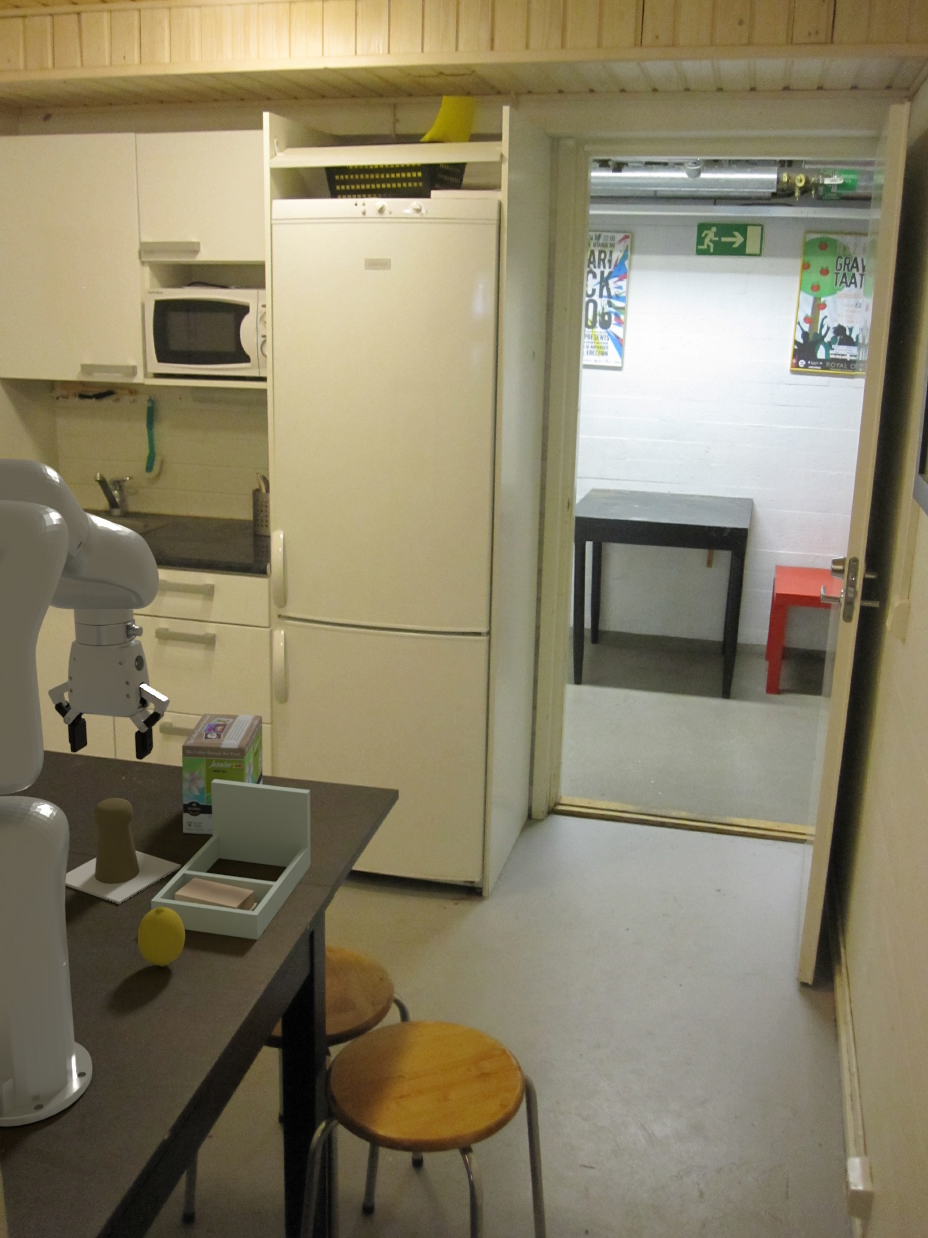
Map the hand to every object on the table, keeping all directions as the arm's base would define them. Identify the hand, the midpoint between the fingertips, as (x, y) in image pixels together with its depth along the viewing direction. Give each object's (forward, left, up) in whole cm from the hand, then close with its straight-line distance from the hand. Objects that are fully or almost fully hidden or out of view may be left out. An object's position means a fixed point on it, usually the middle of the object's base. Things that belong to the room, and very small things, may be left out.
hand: (111, 752), depth 147 cm
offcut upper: (-2, -19, -17) cm, 25 cm away
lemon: (-14, -21, -19) cm, 31 cm away
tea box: (+23, 0, -19) cm, 30 cm away
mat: (0, 0, -19) cm, 19 cm away
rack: (+5, -17, -19) cm, 26 cm away
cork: (0, 0, -19) cm, 19 cm away
